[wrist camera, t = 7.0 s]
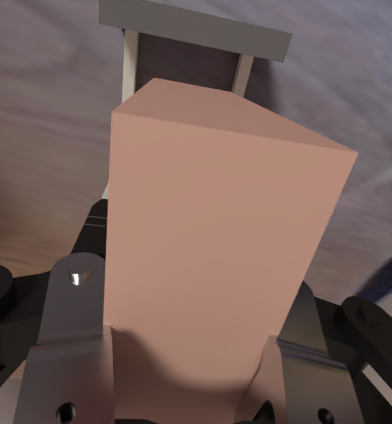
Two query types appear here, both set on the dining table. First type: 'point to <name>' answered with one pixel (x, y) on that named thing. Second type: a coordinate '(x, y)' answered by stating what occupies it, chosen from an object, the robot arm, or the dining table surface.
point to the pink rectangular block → (206, 244)
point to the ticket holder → (189, 37)
